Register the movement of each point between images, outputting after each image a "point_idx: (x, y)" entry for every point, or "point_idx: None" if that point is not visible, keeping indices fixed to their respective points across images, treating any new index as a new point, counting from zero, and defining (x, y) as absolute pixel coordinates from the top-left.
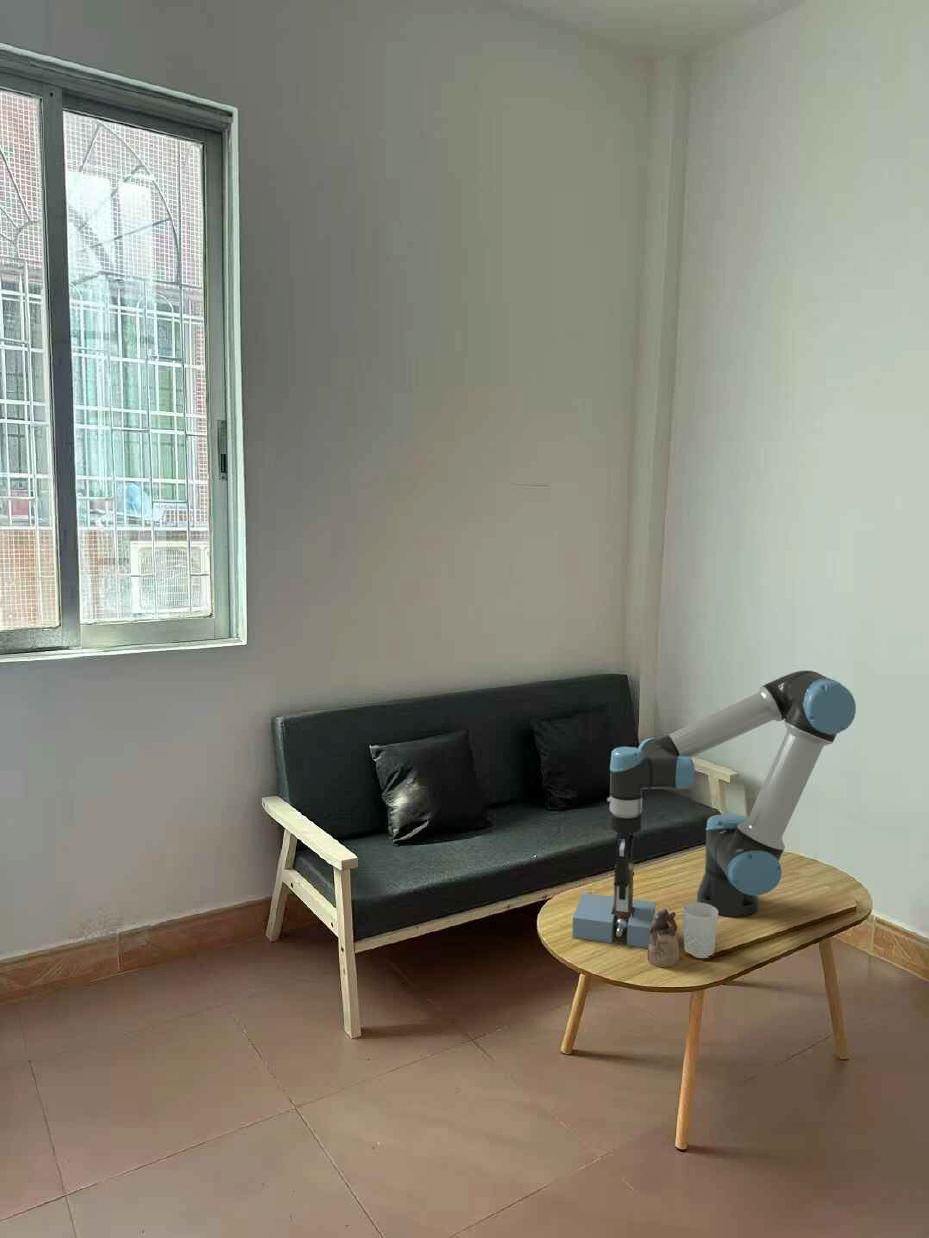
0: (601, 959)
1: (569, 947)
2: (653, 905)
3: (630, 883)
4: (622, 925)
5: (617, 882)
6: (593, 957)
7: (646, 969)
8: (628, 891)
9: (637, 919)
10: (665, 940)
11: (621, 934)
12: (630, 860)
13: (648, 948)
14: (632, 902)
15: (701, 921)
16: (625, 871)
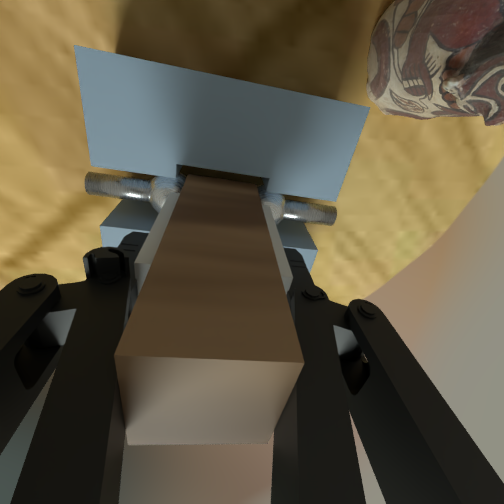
0: (382, 240)
1: None
2: (127, 63)
3: (276, 272)
4: (290, 207)
5: (366, 364)
6: (370, 256)
7: (461, 123)
8: (276, 253)
9: (291, 160)
10: None
11: (335, 208)
12: (104, 397)
13: (432, 117)
14: (192, 187)
15: None
16: (455, 430)
